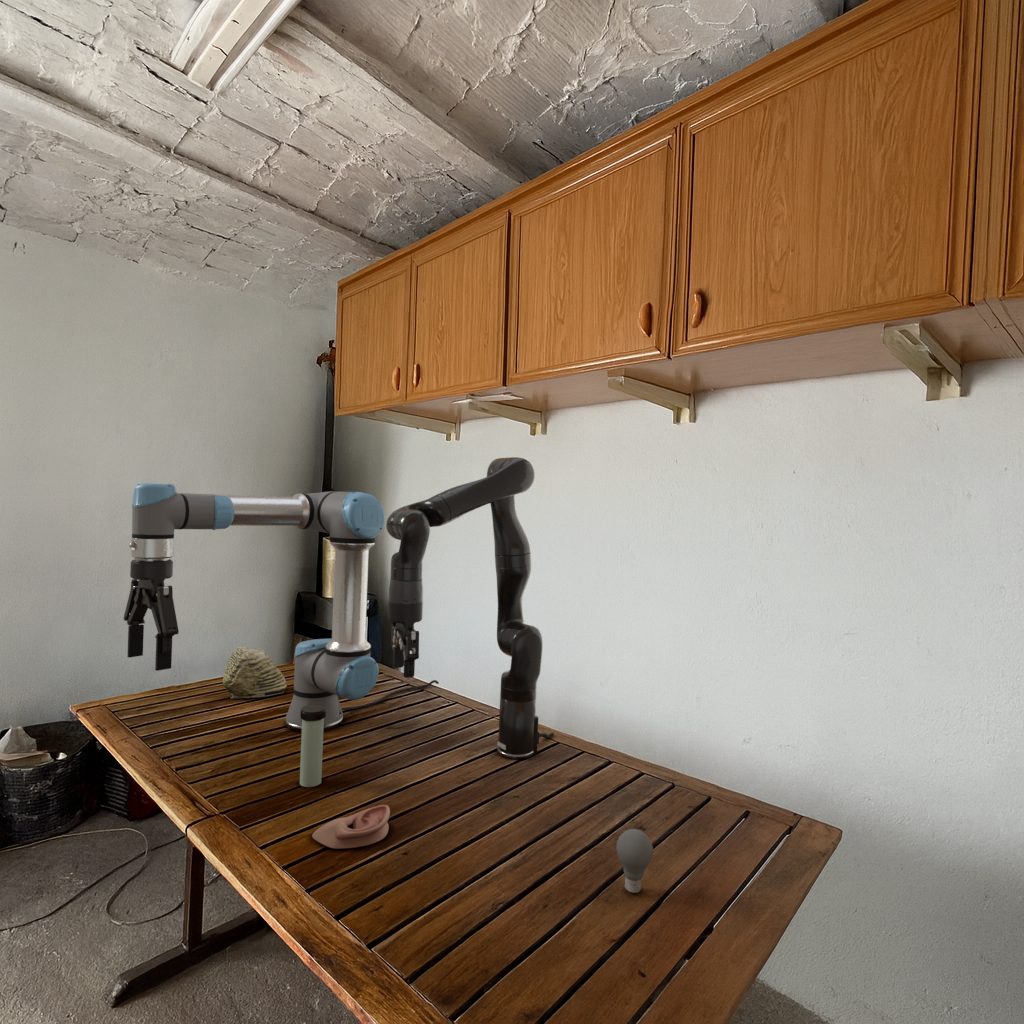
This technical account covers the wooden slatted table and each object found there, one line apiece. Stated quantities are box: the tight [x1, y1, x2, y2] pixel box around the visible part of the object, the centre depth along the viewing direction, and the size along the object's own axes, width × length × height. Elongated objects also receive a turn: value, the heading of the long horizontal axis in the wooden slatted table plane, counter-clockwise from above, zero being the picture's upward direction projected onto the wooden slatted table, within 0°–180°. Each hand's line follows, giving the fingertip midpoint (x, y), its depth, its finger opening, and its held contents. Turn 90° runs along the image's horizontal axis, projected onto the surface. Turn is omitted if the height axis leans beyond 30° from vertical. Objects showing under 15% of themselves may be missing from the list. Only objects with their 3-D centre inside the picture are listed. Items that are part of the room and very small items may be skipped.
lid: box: [300, 705, 326, 721], centre depth 140 cm, size 5×5×2 cm
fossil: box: [222, 646, 288, 699], centre depth 198 cm, size 9×18×15 cm, turn 132°
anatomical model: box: [311, 804, 391, 850], centre depth 119 cm, size 13×4×12 cm
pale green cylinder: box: [299, 718, 324, 788], centre depth 140 cm, size 5×5×16 cm
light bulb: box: [615, 828, 654, 894], centre depth 106 cm, size 6×6×10 cm
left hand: (148, 662), depth 129 cm, fingers open, 13 cm apart
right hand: (403, 672), depth 140 cm, fingers open, 8 cm apart
